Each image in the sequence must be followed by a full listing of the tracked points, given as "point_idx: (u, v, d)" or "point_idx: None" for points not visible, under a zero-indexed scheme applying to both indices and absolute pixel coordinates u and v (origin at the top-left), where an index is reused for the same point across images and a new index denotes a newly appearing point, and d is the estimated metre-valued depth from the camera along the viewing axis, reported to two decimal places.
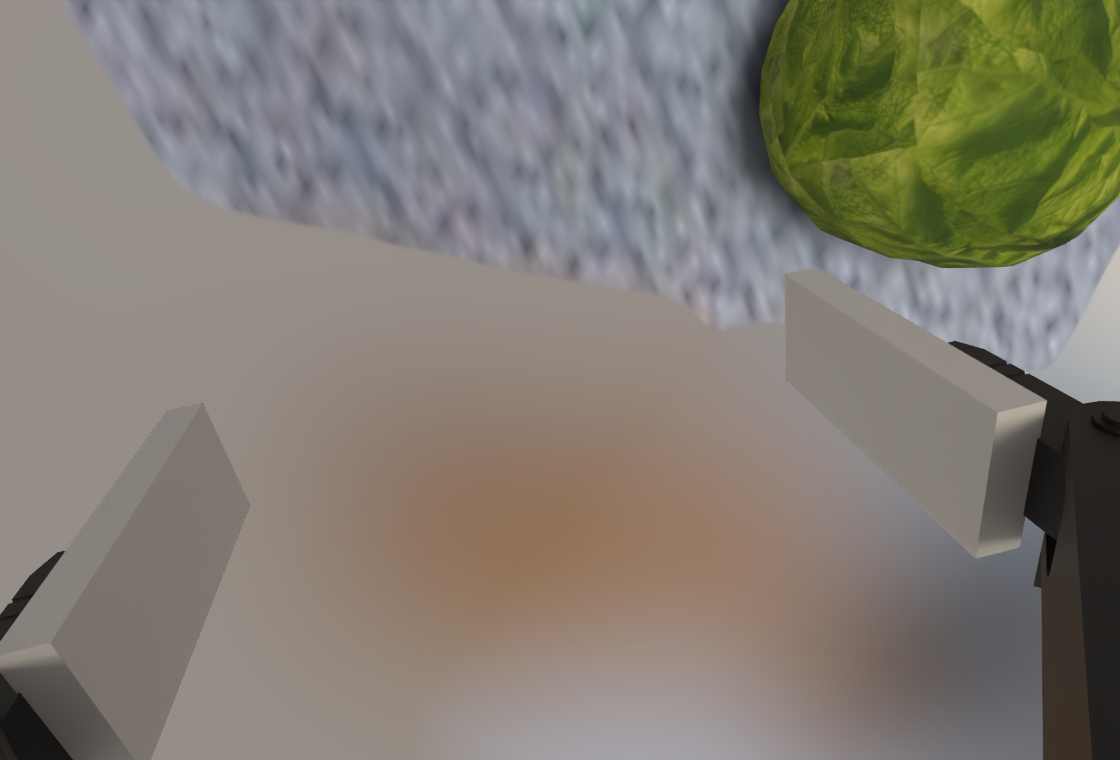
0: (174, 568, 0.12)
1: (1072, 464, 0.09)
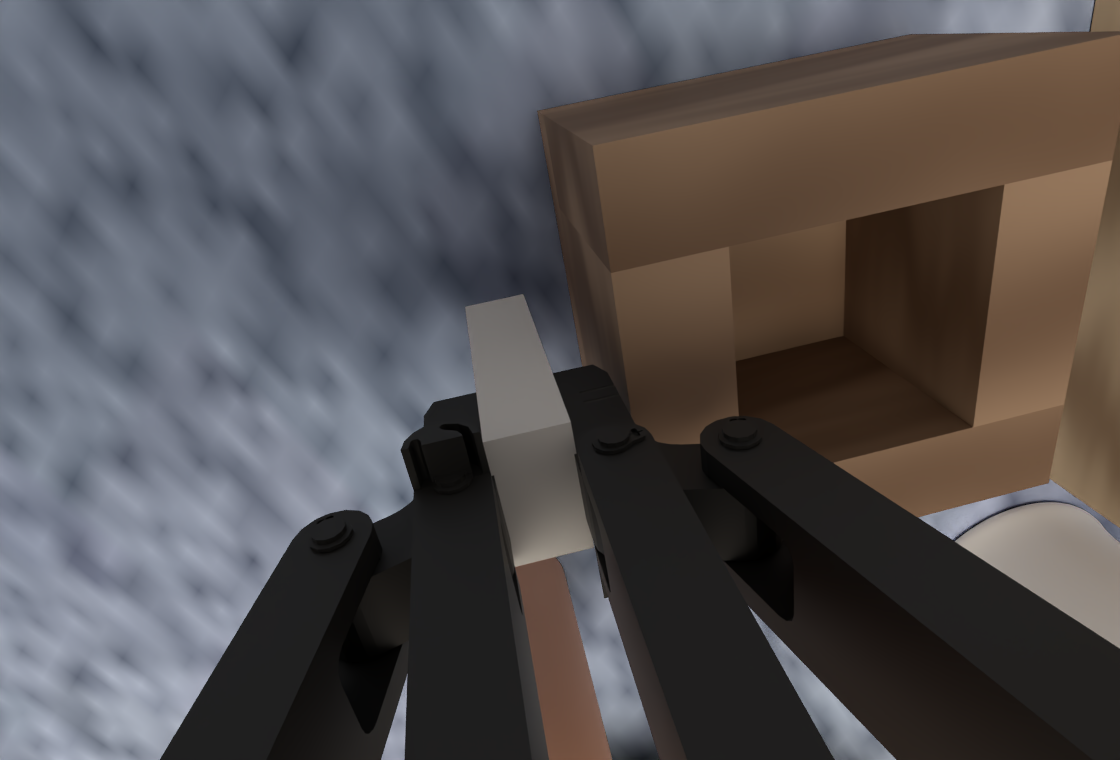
0: None
1: (593, 494, 0.10)
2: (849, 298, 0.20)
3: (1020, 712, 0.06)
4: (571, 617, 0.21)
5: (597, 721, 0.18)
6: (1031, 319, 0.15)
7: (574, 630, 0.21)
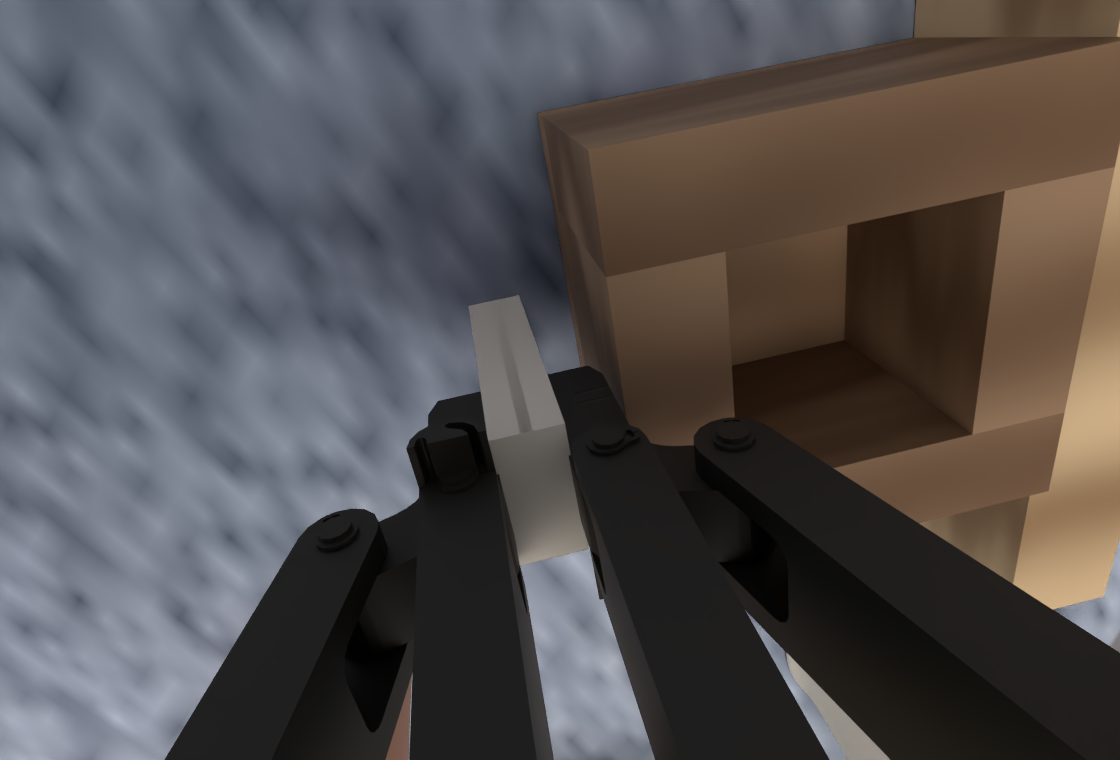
0: None
1: (587, 495, 0.10)
2: (850, 302, 0.19)
3: (1014, 714, 0.06)
4: None
5: None
6: (1032, 326, 0.14)
7: None
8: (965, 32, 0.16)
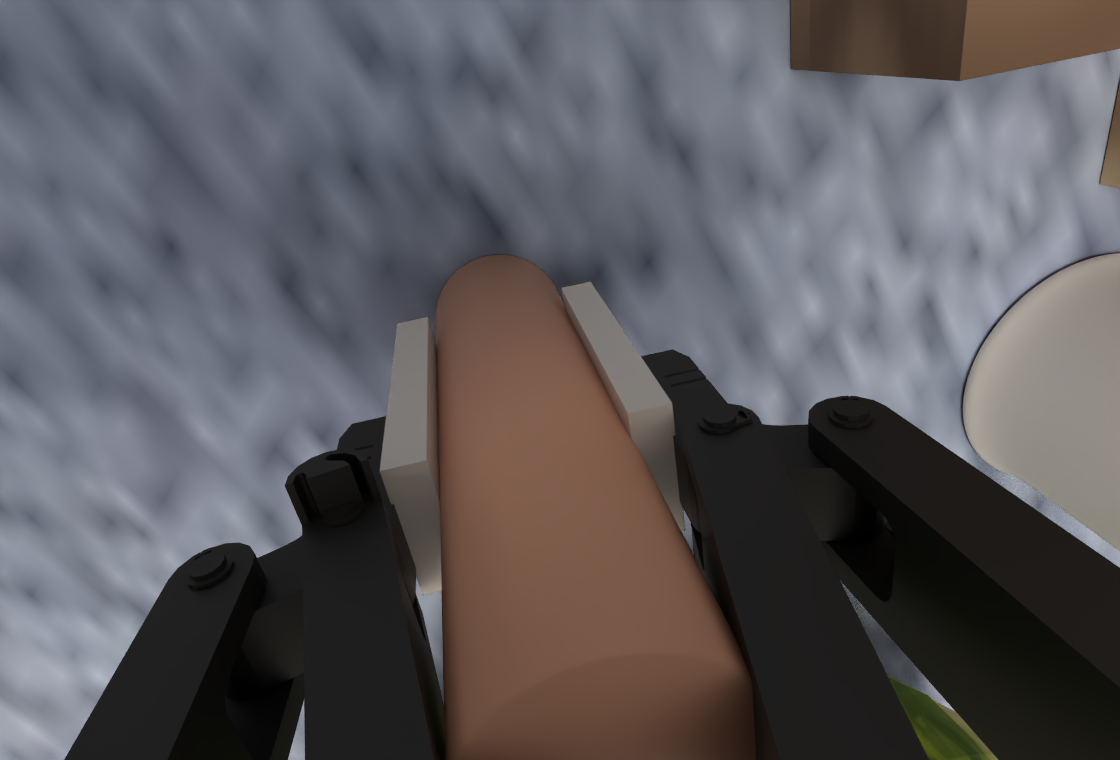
0: None
1: (695, 470, 0.10)
2: None
3: None
4: None
5: None
6: None
7: None
8: None
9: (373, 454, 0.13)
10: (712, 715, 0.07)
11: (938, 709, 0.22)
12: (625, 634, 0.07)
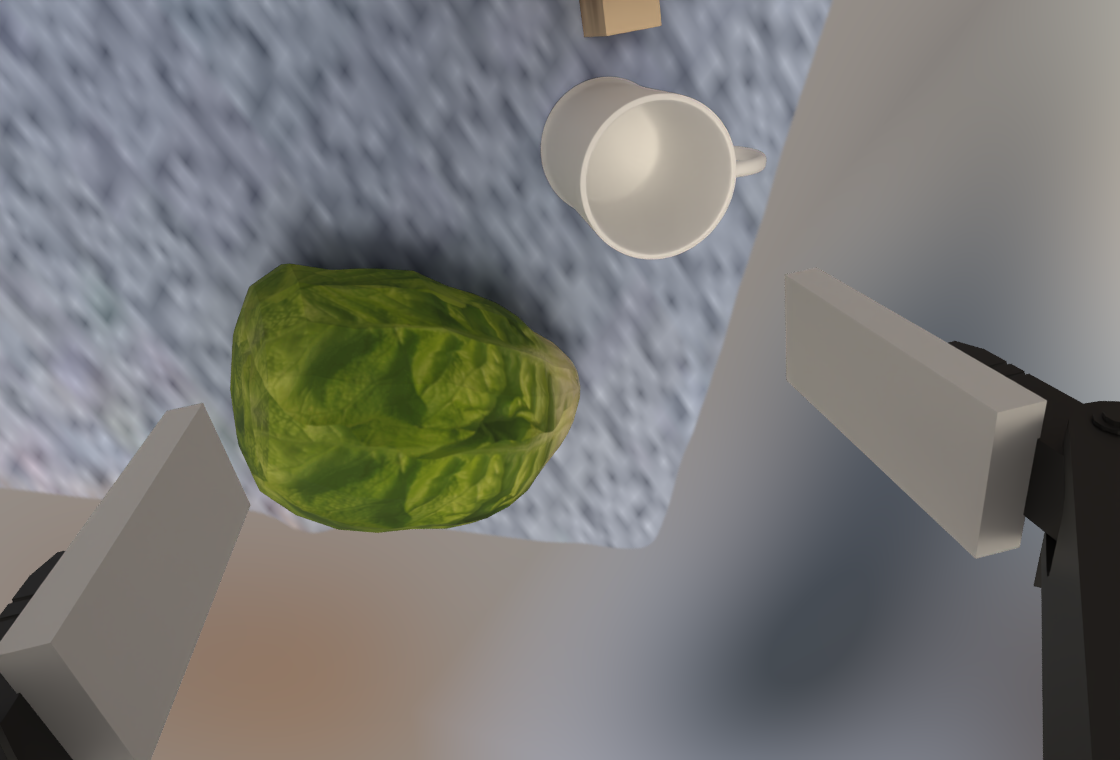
0: (174, 568, 0.12)
1: (1072, 464, 0.09)
2: None
3: None
4: None
5: None
6: None
7: None
8: None
9: None
10: None
11: (514, 316, 0.43)
12: None
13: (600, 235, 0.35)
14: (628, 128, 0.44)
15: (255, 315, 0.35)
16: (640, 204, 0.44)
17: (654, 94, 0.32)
